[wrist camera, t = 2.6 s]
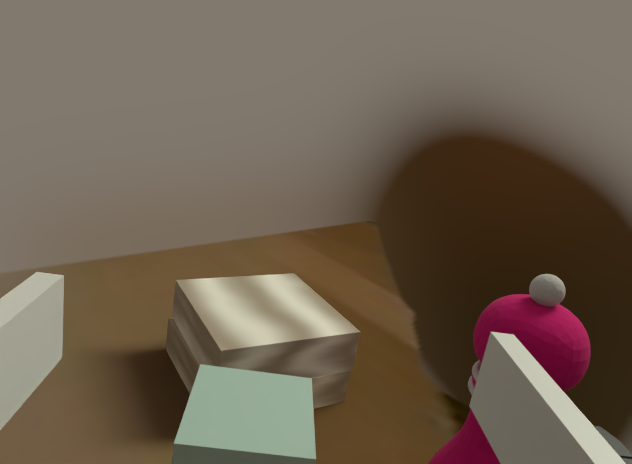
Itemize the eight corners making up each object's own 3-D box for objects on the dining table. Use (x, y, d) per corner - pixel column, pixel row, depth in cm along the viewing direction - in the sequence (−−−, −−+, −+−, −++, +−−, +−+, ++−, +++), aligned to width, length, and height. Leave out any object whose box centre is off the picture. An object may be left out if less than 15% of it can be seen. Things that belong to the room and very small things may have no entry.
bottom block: (210, 441, 40) (216, 398, 38) (165, 355, 50) (168, 319, 49) (342, 407, 47) (350, 370, 45) (279, 337, 57) (284, 306, 56)
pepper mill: (523, 549, 34) (624, 279, 28) (507, 643, 28) (633, 321, 22) (422, 495, 37) (495, 242, 31) (387, 569, 31) (470, 270, 25)
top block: (215, 395, 39) (221, 350, 38) (172, 317, 49) (175, 280, 48) (351, 370, 45) (360, 331, 44) (288, 306, 56) (294, 273, 55)
